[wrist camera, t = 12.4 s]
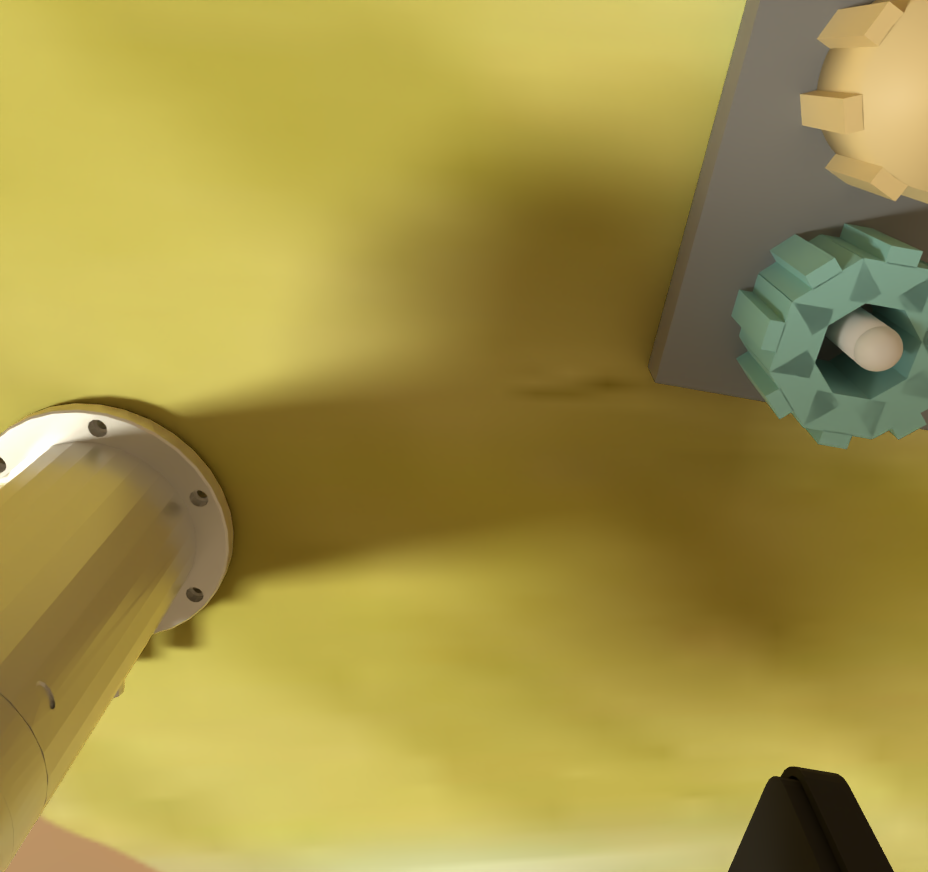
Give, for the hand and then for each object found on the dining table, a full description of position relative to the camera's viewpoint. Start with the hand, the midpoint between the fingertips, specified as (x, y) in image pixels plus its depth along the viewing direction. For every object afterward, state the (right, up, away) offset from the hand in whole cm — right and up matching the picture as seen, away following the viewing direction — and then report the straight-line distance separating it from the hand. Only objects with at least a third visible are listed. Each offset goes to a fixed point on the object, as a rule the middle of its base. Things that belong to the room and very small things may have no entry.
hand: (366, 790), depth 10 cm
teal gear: (+16, +9, +24) cm, 30 cm away
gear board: (+17, +14, +24) cm, 33 cm away
